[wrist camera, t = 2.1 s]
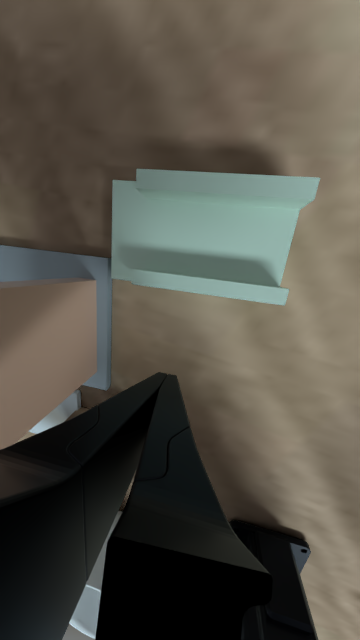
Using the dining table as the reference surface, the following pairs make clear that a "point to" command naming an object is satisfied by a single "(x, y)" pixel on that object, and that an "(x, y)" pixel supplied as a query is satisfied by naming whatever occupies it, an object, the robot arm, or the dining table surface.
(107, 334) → the mat
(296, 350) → the dining table surface
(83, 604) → the teacup
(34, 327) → the tile
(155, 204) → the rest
